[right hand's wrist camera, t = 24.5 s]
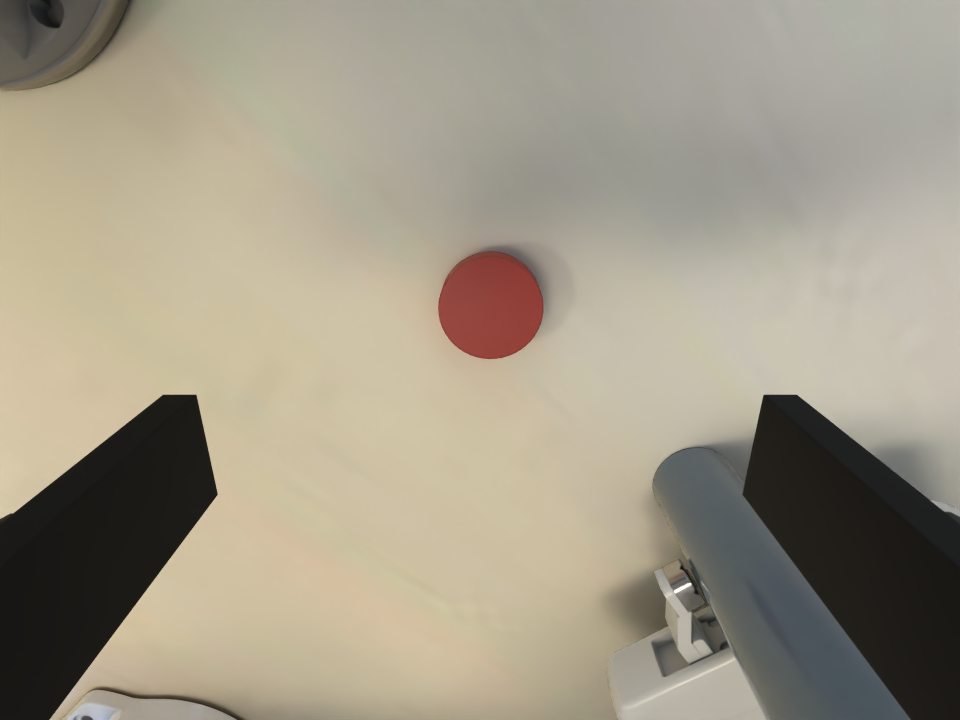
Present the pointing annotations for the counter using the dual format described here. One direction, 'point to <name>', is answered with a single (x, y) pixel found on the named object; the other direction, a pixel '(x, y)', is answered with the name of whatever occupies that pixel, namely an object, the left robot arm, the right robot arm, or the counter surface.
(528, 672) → the counter surface
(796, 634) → the grey cylinder
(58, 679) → the right robot arm
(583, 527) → the counter surface
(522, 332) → the lid
